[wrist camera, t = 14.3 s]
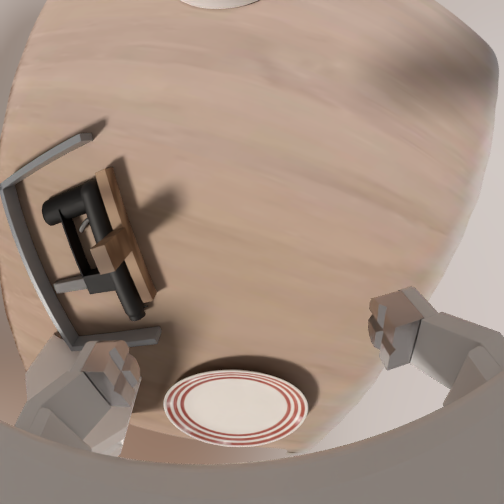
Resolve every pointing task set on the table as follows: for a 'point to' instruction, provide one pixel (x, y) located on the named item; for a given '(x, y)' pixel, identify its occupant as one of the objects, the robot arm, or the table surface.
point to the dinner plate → (235, 407)
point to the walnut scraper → (120, 239)
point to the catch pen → (35, 267)
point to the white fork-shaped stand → (61, 360)
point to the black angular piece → (92, 204)
